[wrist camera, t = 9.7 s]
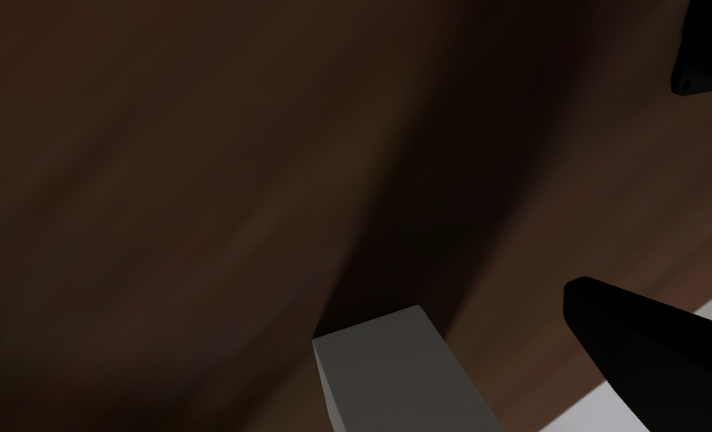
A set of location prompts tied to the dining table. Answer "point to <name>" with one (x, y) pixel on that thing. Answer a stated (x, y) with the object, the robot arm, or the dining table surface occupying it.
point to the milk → (398, 379)
